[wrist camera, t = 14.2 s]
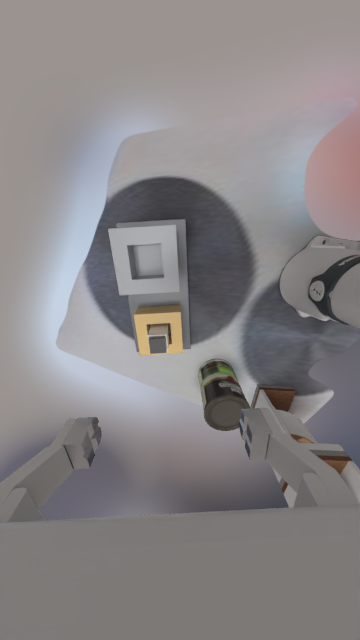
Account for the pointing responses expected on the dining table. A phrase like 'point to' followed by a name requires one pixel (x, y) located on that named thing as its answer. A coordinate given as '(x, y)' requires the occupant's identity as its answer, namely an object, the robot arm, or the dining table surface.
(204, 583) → the robot arm
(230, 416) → the coffee can
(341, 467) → the striped beige pillar
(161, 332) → the plug
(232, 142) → the dining table surface
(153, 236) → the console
